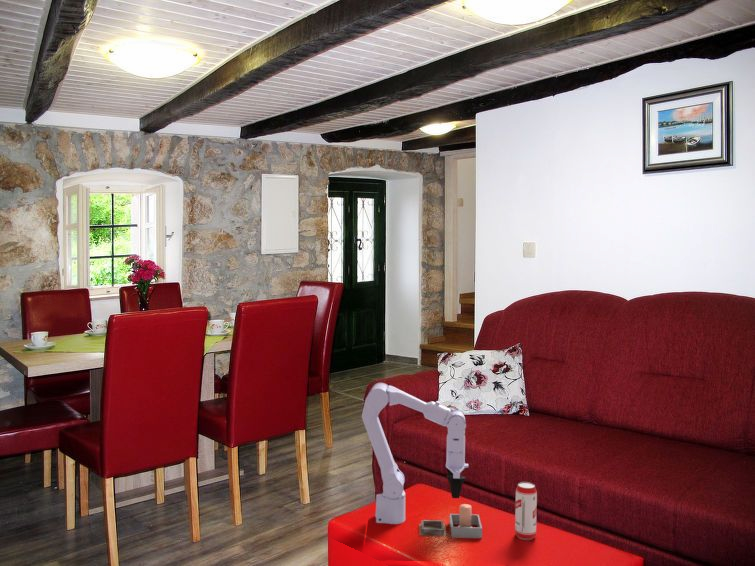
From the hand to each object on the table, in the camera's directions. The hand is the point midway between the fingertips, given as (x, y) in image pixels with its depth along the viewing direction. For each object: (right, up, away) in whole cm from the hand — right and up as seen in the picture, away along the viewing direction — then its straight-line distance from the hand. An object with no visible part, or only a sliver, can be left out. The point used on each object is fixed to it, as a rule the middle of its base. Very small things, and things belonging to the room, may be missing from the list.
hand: (454, 493), depth 209 cm
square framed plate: (-7, -11, -5) cm, 14 cm away
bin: (+3, -11, -5) cm, 12 cm away
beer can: (+21, -11, -7) cm, 24 cm away
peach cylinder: (+3, -10, -6) cm, 12 cm away
